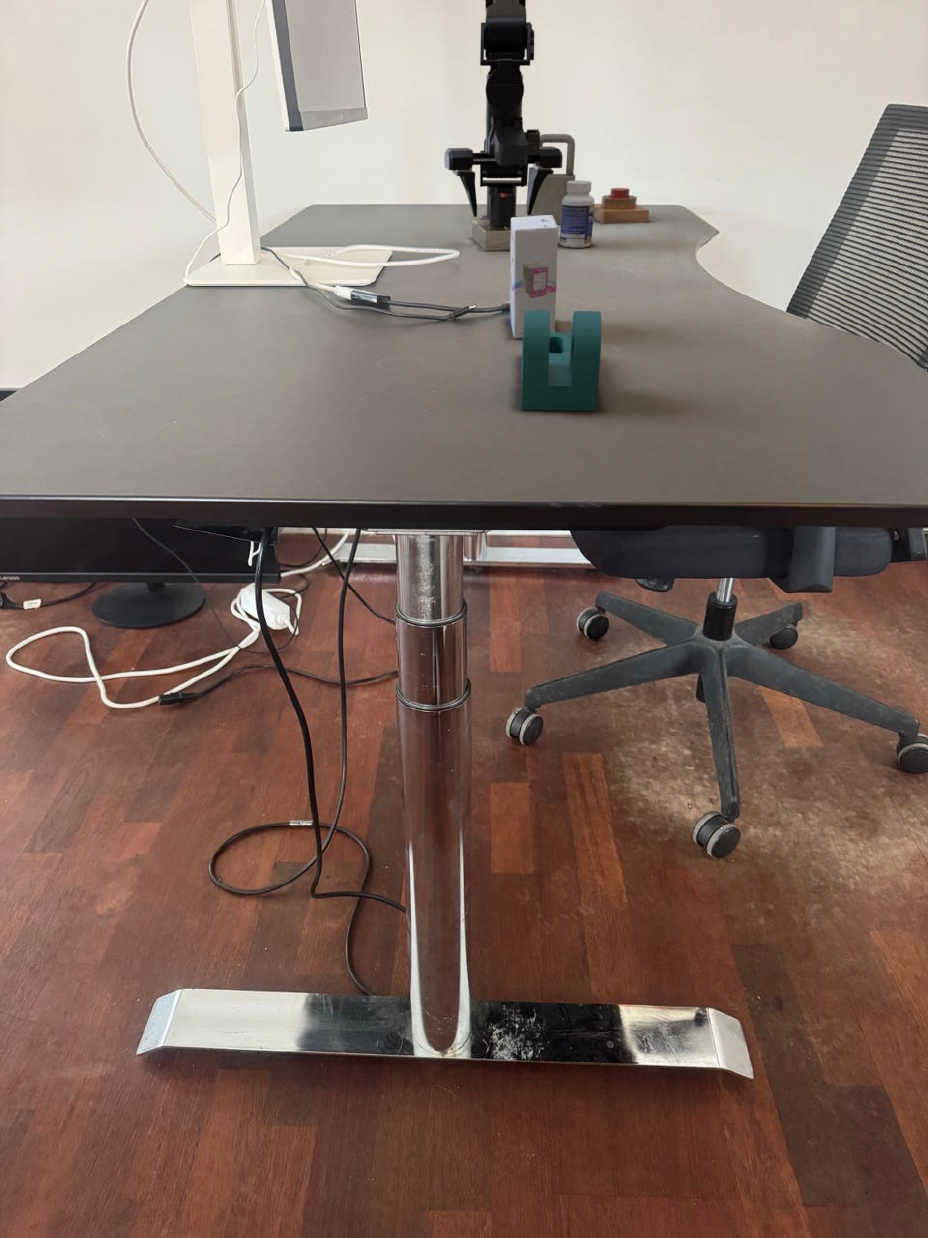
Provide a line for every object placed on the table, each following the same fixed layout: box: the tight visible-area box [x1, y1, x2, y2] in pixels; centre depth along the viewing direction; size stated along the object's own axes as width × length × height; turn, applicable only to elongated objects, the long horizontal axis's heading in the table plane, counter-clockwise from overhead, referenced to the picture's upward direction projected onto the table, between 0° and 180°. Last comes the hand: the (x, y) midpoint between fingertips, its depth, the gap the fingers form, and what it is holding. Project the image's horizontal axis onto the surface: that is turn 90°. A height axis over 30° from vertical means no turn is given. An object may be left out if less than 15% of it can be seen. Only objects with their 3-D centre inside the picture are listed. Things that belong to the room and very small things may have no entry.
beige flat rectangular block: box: [471, 219, 511, 252], centre depth 149 cm, size 12×10×3 cm
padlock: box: [530, 133, 576, 225], centre depth 164 cm, size 4×8×15 cm, turn 85°
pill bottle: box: [559, 180, 595, 249], centre depth 145 cm, size 5×5×10 cm
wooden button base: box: [593, 194, 650, 225], centre depth 170 cm, size 10×9×4 cm
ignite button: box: [609, 187, 631, 198], centre depth 169 cm, size 4×4×2 cm
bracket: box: [520, 310, 603, 412], centre depth 85 cm, size 18×7×8 cm, turn 177°
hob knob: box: [489, 193, 515, 227], centre depth 146 cm, size 4×4×5 cm
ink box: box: [509, 215, 559, 339], centre depth 100 cm, size 9×5×12 cm, turn 1°
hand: (501, 215), depth 147 cm, fingers open, 9 cm apart
